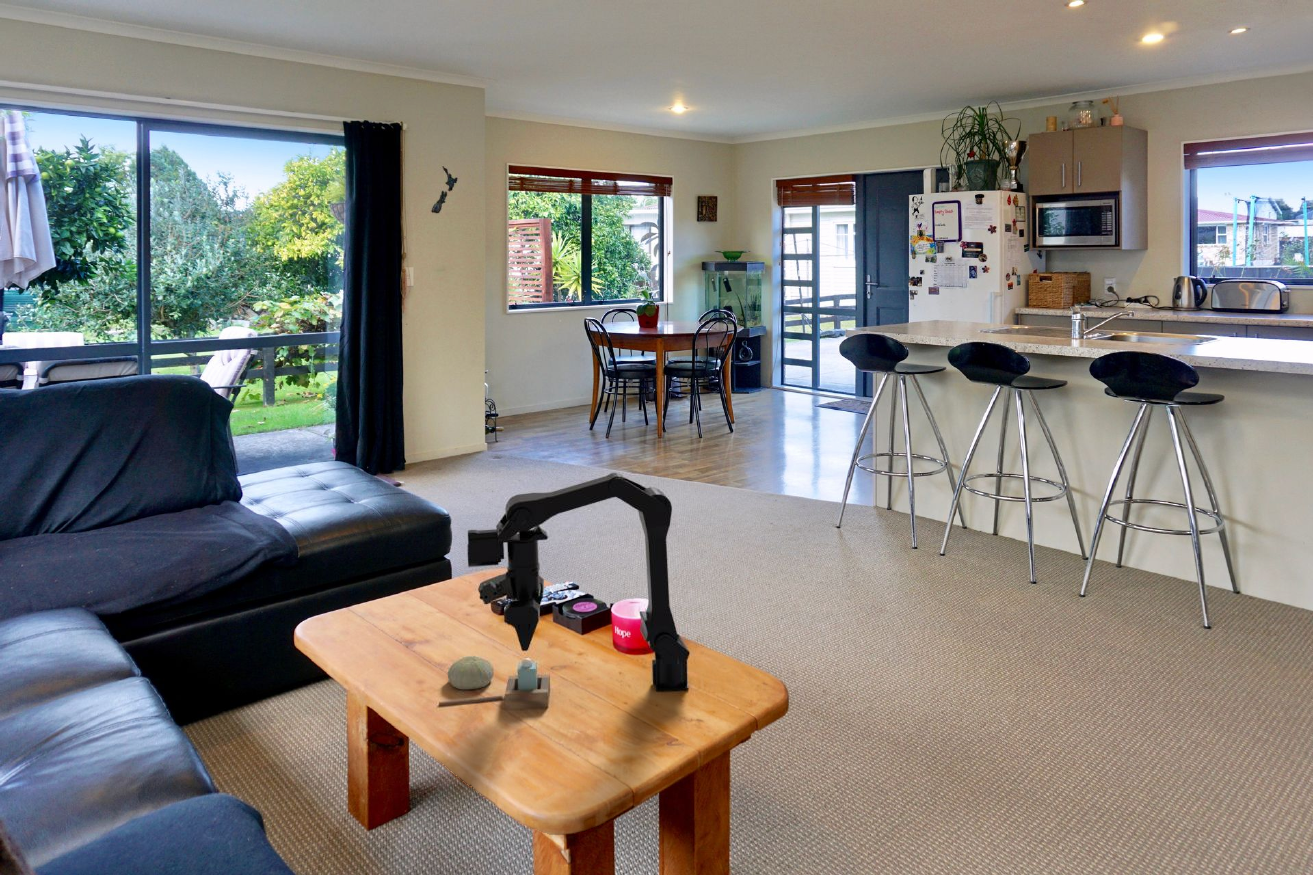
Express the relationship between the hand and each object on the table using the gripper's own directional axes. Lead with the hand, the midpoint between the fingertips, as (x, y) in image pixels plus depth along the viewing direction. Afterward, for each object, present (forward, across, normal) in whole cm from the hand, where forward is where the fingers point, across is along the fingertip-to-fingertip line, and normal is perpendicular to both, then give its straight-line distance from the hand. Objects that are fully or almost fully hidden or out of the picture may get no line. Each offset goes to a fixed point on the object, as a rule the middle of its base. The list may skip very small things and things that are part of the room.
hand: (526, 640), depth 179 cm
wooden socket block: (+12, 0, 0) cm, 12 cm away
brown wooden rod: (+12, 0, -11) cm, 16 cm away
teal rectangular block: (+12, 0, 0) cm, 12 cm away
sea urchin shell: (+12, -9, -12) cm, 20 cm away
